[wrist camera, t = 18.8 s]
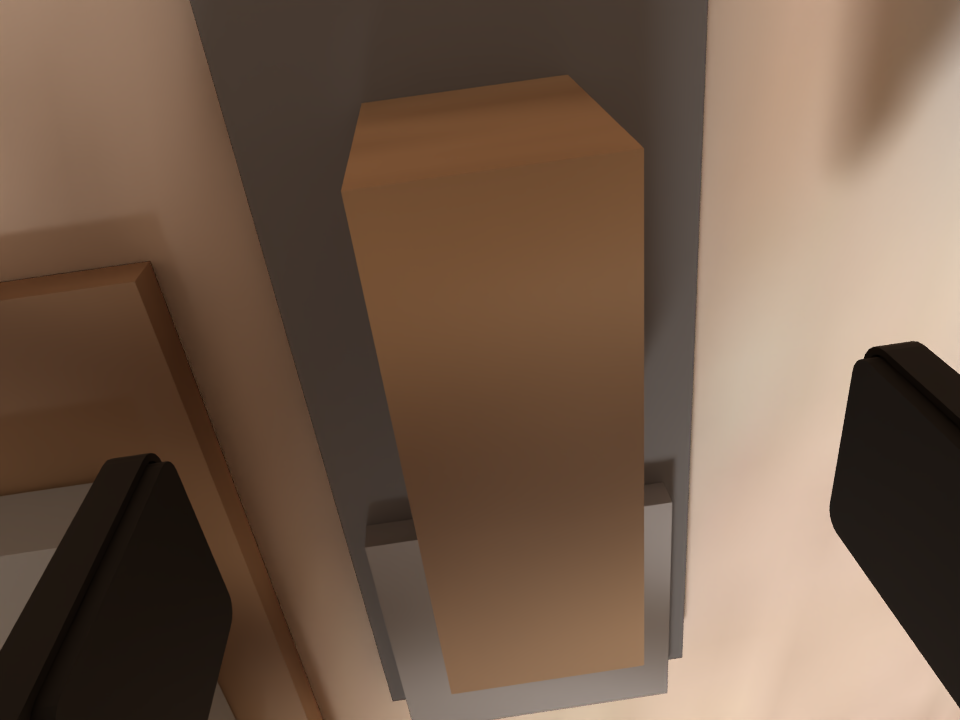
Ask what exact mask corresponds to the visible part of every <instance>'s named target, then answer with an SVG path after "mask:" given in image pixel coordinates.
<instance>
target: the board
mask: <svg viewBox="0 0 960 720" xmlns="http://www.w3.org/2000/svg"><path fill="white" fill-rule="evenodd" d="M146 453H154V454H156V455H157V456H158V457H159V458H160V460H161V461H162V462H165V461H169V462H171V463H172V464H173V465H174V466H175V468H176V470H177V472H178V474H179V477H180V479H181V481H182V484H183V486H184V488H185V491H186V493H187V496H188V498H189V500H190V503H191V505H192V507H193V510H194V512H195V514H196V517H197V519H198V521H199V524H200V526H201V529H202V531H203V533H204V536H205V538H206V540H207V543H208V545H209V547H210V550H211V552H212V555H213V557H214V559H215V562H216V564H217V566H218V569H219V571H220V573H221V576H222V578H223V580H224V583H225V585H226V588H227V590H228V592H229V595H230V598H231V602H232V612H233V613H232V623H231V628H230V632H229V636H228V640H227V644H226V648H225V652H224V656H223V660H222V664H221V669H220V673H219V677H218V681H217V682H218V684H219V686H220V688H221V690H222V692H223V694H224V696H225V698H226V700H227V703H228V705H229V707H230V709H231V711H232V713H233V715H234V717H235V719H236V720H323V719H322V716H321V713H320V711H319V708H318V705H317V703H316V700H315V697H314V695H313V692H312V689H311V687H310V684H309V682H308V679H307V676H306V674H305V671H304V668H303V666H302V663H301V660H300V658H299V655H298V652H297V650H296V647H295V644H294V642H293V639H292V637H291V634H290V631H289V629H288V626H287V623H286V621H285V618H284V615H283V613H282V610H281V607H280V605H279V602H278V599H277V597H276V594H275V591H274V589H273V586H272V584H271V581H270V578H269V576H268V573H267V570H266V568H265V565H264V562H263V560H262V557H261V554H260V552H259V549H258V546H257V544H256V541H255V539H254V536H253V533H252V531H251V528H250V525H249V523H248V520H247V517H246V515H245V512H244V509H243V507H242V504H241V501H240V499H239V496H238V494H237V491H236V488H235V486H234V483H233V480H232V478H231V475H230V472H229V470H228V467H227V464H226V462H225V459H224V456H223V454H222V451H221V448H220V446H219V443H218V441H217V438H216V435H215V433H214V430H213V427H212V425H211V422H210V419H209V417H208V414H207V411H206V409H205V406H204V403H203V401H202V398H201V396H200V393H199V390H198V388H197V385H196V382H195V380H194V377H193V374H192V372H191V369H190V366H189V364H188V361H187V358H186V356H185V353H184V350H183V348H182V345H181V343H180V340H179V337H178V335H177V332H176V329H175V327H174V324H173V321H172V319H171V316H170V313H169V311H168V308H167V305H166V303H165V300H164V298H163V295H162V292H161V290H160V287H159V284H158V282H157V279H156V276H155V274H154V271H153V268H152V266H151V263H150V261H148V262H141V263H134V264H127V265H120V266H113V267H106V268H99V269H92V270H85V271H78V272H71V273H64V274H56V275H49V276H42V277H35V278H28V279H21V280H14V281H7V282H0V496H6V495H12V494H19V493H26V492H33V491H40V490H47V489H53V488H60V487H67V486H74V485H81V484H87V483H93V482H94V480H95V479H96V477H97V475H98V473H99V471H100V469H101V468H102V466H103V465H104V463H105V462H106V461H107V460H109V459H112V458H119V457H125V456H132V455H139V454H146Z"/></svg>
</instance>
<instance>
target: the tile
mask: <svg viewBox="0 0 960 720" xmlns="http://www.w3.org/2000/svg"><path fill="white" fill-rule="evenodd" d="M92 484H93V483H87V484H81V485H74V486H67V487H60V488H53V489H47V490H40V491H33V492H26V493H19V494H12V495H6V496H0V650H1V648H2V647H3V645H4V643H5V641H6V639H7V638H8V636H9V634H10V632H11V630H12V629H13V627H14V625H15V623H16V621H17V620H18V618H19V616H20V614H21V612H22V611H23V609H24V607H25V605H26V603H27V601H28V600H29V598H30V596H31V594H32V592H33V591H34V589H35V587H36V585H37V583H38V582H39V580H40V578H41V576H42V574H43V573H44V571H45V569H46V567H47V565H48V563H49V562H50V560H51V558H52V556H53V554H54V553H55V551H56V549H57V547H58V545H59V544H60V542H61V540H62V538H63V536H64V535H65V533H66V531H67V529H68V527H69V526H70V524H71V522H72V520H73V518H74V516H75V515H76V513H77V511H78V509H79V507H80V506H81V504H82V502H83V500H84V498H85V497H86V495H87V493H88V491H89V489H90V488H91V486H92ZM208 720H236V719H235V717H234V715H233V713H232V711H231V709H230V707H229V705H228V703H227V700H226V698H225V696H224V694H223V692H222V690H221V688H220V686H219V684H218V682H217V685H216V689H215V693H214V697H213V701H212V705H211V709H210V713H209V717H208Z"/></svg>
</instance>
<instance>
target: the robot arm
mask: <svg viewBox="0 0 960 720" xmlns="http://www.w3.org/2000/svg"><path fill="white" fill-rule="evenodd" d="M830 517H831V521H832V524H833V527H834V529H835V531H836V533H837V534H838V536H839V537H840V539H841V540H842V541H843V543H844V544H845V546H846V547H847V549H848V550H849V551H850V553H851V554H852V556H853V557H854V558H855V560H856V561H857V563H858V564H859V566H860V567H861V568H862V570H863V571H864V573H865V574H866V576H867V577H868V578H869V580H870V581H871V583H872V584H873V586H874V587H875V588H876V590H877V591H878V593H879V594H880V595H881V597H882V598H883V600H884V601H885V603H886V604H887V605H888V607H889V608H890V610H891V611H892V613H893V614H894V615H895V617H896V618H897V620H898V621H899V623H900V624H901V625H902V627H903V628H904V630H905V631H906V632H907V634H908V635H909V637H910V638H911V640H912V641H913V642H914V644H915V645H916V647H917V648H918V650H919V651H920V652H921V654H922V655H923V657H924V658H925V660H926V661H927V662H928V664H929V665H930V667H931V668H932V669H933V671H934V672H935V674H936V675H937V677H938V678H939V679H940V681H941V682H942V684H943V685H944V687H945V688H946V689H947V691H948V692H949V694H950V695H951V697H952V698H953V699H954V701H955V702H956V704H957V705H958V706H959V708H960V374H958V373H957V372H956V371H955V370H954V369H952V368H951V367H950V366H949V365H947V364H946V363H945V362H944V361H943V360H941V359H940V358H939V357H938V356H937V355H935V354H934V353H933V352H932V351H930V350H929V349H928V348H927V347H926V346H924V345H923V344H921V343H919V342H915V341H911V342H904V343H897V344H890V345H883V346H876V347H872V348H871V349H869V350H868V351H867V353H866V354H865V357H864V359H861V360H858V361H857V362H856V363H855V365H854V368H853V372H852V378H851V383H850V389H849V395H848V401H847V407H846V413H845V419H844V424H843V430H842V436H841V442H840V448H839V454H838V460H837V465H836V471H835V477H834V483H833V489H832V495H831V501H830ZM232 613H233V612H232V602H231V598H230V595H229V592H228V590H227V588H226V585H225V583H224V580H223V578H222V576H221V573H220V571H219V569H218V566H217V564H216V562H215V559H214V557H213V555H212V552H211V550H210V547H209V545H208V543H207V540H206V538H205V536H204V533H203V531H202V529H201V526H200V524H199V521H198V519H197V517H196V514H195V512H194V510H193V507H192V505H191V503H190V500H189V498H188V496H187V493H186V491H185V488H184V486H183V484H182V481H181V479H180V477H179V474H178V472H177V470H176V468H175V466H174V465H173V464H172V463H171V462H169V461H165V462H162V461H161V460H160V458H159V457H158V456H157V455H156V454H154V453H146V454H139V455H132V456H125V457H119V458H112V459H109V460H107V461H106V462H105V463H104V465H103V466H102V468H101V469H100V471H99V473H98V475H97V477H96V479H95V480H94V482H93V484H92V486H91V488H90V489H89V491H88V493H87V495H86V497H85V498H84V500H83V502H82V504H81V506H80V507H79V509H78V511H77V513H76V515H75V516H74V518H73V520H72V522H71V524H70V526H69V527H68V529H67V531H66V533H65V535H64V536H63V538H62V540H61V542H60V544H59V545H58V547H57V549H56V551H55V553H54V554H53V556H52V558H51V560H50V562H49V563H48V565H47V567H46V569H45V571H44V573H43V574H42V576H41V578H40V580H39V582H38V583H37V585H36V587H35V589H34V591H33V592H32V594H31V596H30V598H29V600H28V601H27V603H26V605H25V607H24V609H23V611H22V612H21V614H20V616H19V618H18V620H17V621H16V623H15V625H14V627H13V629H12V630H11V632H10V634H9V636H8V638H7V639H6V641H5V643H4V645H3V647H2V648H1V650H0V720H208V717H209V713H210V709H211V705H212V701H213V697H214V693H215V689H216V685H217V681H218V677H219V673H220V669H221V664H222V660H223V656H224V652H225V648H226V644H227V640H228V636H229V632H230V628H231V623H232Z"/></svg>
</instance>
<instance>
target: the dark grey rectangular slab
mask: <svg viewBox="0 0 960 720" xmlns="http://www.w3.org/2000/svg"><path fill="white" fill-rule="evenodd" d="M190 3H191V7H192V10H193V13H194V17H195V20H196V24H197V27H198V31H199V34H200V38H201V41H202V44H203V48H204V51H205V55H206V58H207V62H208V65H209V69H210V72H211V76H212V79H213V82H214V86H215V89H216V93H217V96H218V100H219V103H220V107H221V110H222V114H223V117H224V120H225V124H226V127H227V131H228V134H229V138H230V141H231V145H232V148H233V151H234V155H235V158H236V162H237V165H238V169H239V172H240V176H241V179H242V183H243V186H244V189H245V193H246V196H247V200H248V203H249V207H250V210H251V214H252V217H253V221H254V224H255V227H256V231H257V234H258V238H259V241H260V245H261V248H262V252H263V255H264V258H265V262H266V265H267V269H268V272H269V276H270V279H271V283H272V286H273V290H274V293H275V296H276V300H277V303H278V307H279V310H280V314H281V317H282V321H283V324H284V328H285V331H286V334H287V338H288V341H289V345H290V348H291V352H292V355H293V359H294V362H295V366H296V369H297V372H298V376H299V379H300V383H301V386H302V390H303V393H304V397H305V400H306V403H307V407H308V410H309V414H310V417H311V421H312V424H313V428H314V431H315V435H316V438H317V441H318V445H319V448H320V452H321V455H322V459H323V462H324V466H325V469H326V473H327V476H328V479H329V483H330V486H331V490H332V493H333V497H334V500H335V504H336V507H337V510H338V514H339V517H340V521H341V524H342V528H343V531H344V535H345V538H346V542H347V545H348V548H349V552H350V555H351V559H352V562H353V566H354V569H355V573H356V576H357V580H358V583H359V586H360V590H361V593H362V597H363V600H364V604H365V607H366V611H367V614H368V618H369V621H370V624H371V628H372V631H373V635H374V638H375V642H376V645H377V649H378V652H379V655H380V659H381V662H382V666H383V669H384V673H385V676H386V680H387V683H388V687H389V690H390V693H391V697H392V700H393V701H399V700H405V699H406V697H405V693H404V690H403V686H402V682H401V679H400V675H399V671H398V668H397V664H396V660H395V657H394V653H393V649H392V646H391V642H390V638H389V635H388V631H387V627H386V624H385V620H384V616H383V613H382V609H381V605H380V602H379V598H378V594H377V591H376V587H375V583H374V580H373V576H372V572H371V568H370V565H369V561H368V557H367V554H366V550H365V537H366V526H368V525H375V524H382V523H389V522H396V521H402V520H409V519H413V517H412V512H411V508H410V503H409V499H408V494H407V490H406V485H405V481H404V476H403V471H402V467H401V462H400V458H399V453H398V449H397V444H396V440H395V435H394V430H393V426H392V421H391V417H390V412H389V408H388V403H387V398H386V394H385V389H384V385H383V380H382V376H381V371H380V367H379V362H378V357H377V353H376V348H375V344H374V339H373V335H372V330H371V326H370V321H369V316H368V312H367V307H366V303H365V298H364V294H363V289H362V285H361V280H360V275H359V271H358V266H357V262H356V257H355V253H354V248H353V244H352V239H351V234H350V230H349V225H348V221H347V216H346V212H345V207H344V202H343V198H342V193H341V189H342V184H343V180H344V176H345V172H346V167H347V163H348V159H349V155H350V150H351V146H352V142H353V138H354V133H355V129H356V125H357V121H358V117H359V112H360V108H361V104H362V103H367V102H374V101H381V100H388V99H396V98H403V97H410V96H417V95H424V94H431V93H439V92H446V91H453V90H460V89H467V88H475V87H482V86H489V85H496V84H503V83H511V82H518V81H525V80H532V79H539V78H547V77H554V76H561V75H569V76H570V77H571V78H572V79H573V80H574V81H575V82H576V83H577V84H578V85H579V86H580V87H581V88H582V89H583V90H584V91H585V92H586V93H587V94H588V95H589V96H590V97H591V98H593V99H594V100H595V101H596V102H597V103H598V104H599V105H600V106H601V107H602V108H603V109H604V110H605V111H606V112H607V113H608V114H609V115H610V116H611V117H612V118H613V119H614V120H615V121H616V122H617V123H618V124H619V125H620V126H621V127H623V128H624V129H625V130H626V131H627V132H628V133H629V134H630V135H631V136H632V137H633V138H634V139H635V140H636V141H637V142H638V143H639V144H640V145H641V146H642V147H643V148H644V485H647V484H654V483H660V482H663V483H664V485H665V487H666V490H667V492H668V494H669V496H670V498H671V501H672V532H671V571H670V610H669V649H668V660H669V659H676V658H682V648H683V623H684V597H685V572H686V547H687V521H688V496H689V471H690V445H691V420H692V395H693V369H694V344H695V319H696V293H697V268H698V243H699V217H700V192H701V167H702V141H703V116H704V91H705V65H706V40H707V15H708V0H190Z"/></svg>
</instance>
